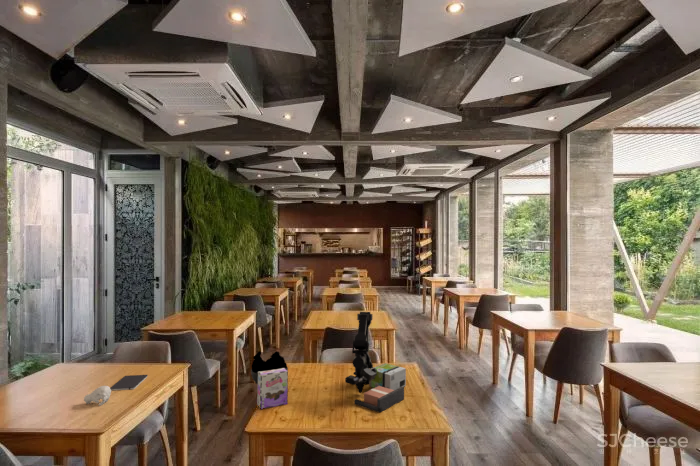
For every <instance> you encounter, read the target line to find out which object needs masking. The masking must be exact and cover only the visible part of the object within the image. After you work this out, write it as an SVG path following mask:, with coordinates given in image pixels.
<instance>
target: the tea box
mask: <svg viewBox="0 0 700 466" xmlns="http://www.w3.org/2000/svg"><path fill="white" fill-rule="evenodd" d="M373 368H376V369H377V375H376V376H375V378H374V379H373V380H371V381H369V383H368V385H369V387H370V388H372V389H374V388H376V387H378V386H381V387H385V388H388V389H392V390H396V389H398V388H400V387H404V388H405V387H406V386H407V385H406V384H407V376H406V375H407V372H406V371H407V370H406V367H403V366H399V365H394V364H391V363H387V362H385V363H381V364H380V365H376V366H373ZM373 368H371V369H373Z"/></svg>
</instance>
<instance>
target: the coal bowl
mask: <svg viewBox="0 0 700 466" xmlns="http://www.w3.org/2000/svg"><path fill="white" fill-rule="evenodd" d="M261 354H262V352H261V351H260V350H259V351H258V352H257V353H256V354H255V355H254V356H253V357H252V359H253V360H252V364H251V369H250V374H251V379H252V380H253V382H255V383H254V384H256V385H257V386H258V372H261V371H268V370H275V369H281V368H285V369H286V370H287V371H289V367H288V365H287V363H286V361H285V358H284V357H283V356H282V355H281V353H280V351H275V352H274V353H272V354H271V355H270V358H268V359H266V360H264V359H263V358H262V357H261Z"/></svg>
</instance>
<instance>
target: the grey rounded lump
mask: <svg viewBox="0 0 700 466" xmlns="http://www.w3.org/2000/svg"><path fill="white" fill-rule="evenodd" d="M110 388H111V387H110V386H108V385H101V386H99V387H97V388H95V389H94V390H92V392H90V393H89V394H86V395H85V396H84V397H83V401H84V402H85V404H86V405H87V406H88V404H91V403H92V402H94V403H96V404H98V406H99V407H100V406H103V405H104V404H105V403H107V402H108V401H109V400H110V396H111V393H112V391H111V390H110ZM100 400H102V401H100Z"/></svg>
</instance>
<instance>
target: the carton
mask: <svg viewBox="0 0 700 466" xmlns="http://www.w3.org/2000/svg"><path fill="white" fill-rule="evenodd" d="M392 391H394V390H392V389H388V388H385V387H381V386H378V387H376V388H371V389H369V390H367V391H365V392H363V401H364V402H367V403H370V404H373V405H376V406H377V399H378V398H380V397H382V396H384V395H386V394H388V393H390V392H392Z"/></svg>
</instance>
